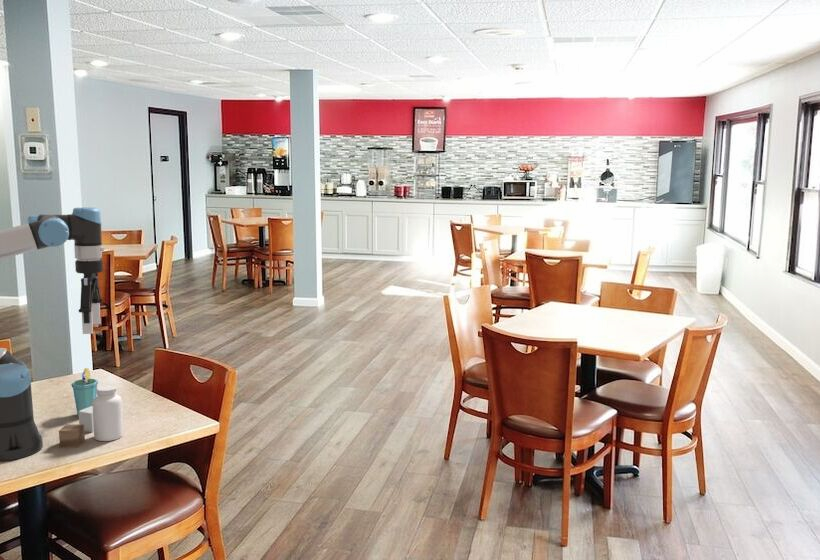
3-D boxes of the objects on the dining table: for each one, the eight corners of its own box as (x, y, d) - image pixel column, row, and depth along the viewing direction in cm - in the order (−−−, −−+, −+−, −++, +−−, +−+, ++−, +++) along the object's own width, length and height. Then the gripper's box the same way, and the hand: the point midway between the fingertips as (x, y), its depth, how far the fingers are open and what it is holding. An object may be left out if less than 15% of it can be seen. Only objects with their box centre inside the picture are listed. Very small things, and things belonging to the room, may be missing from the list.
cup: (100, 420, 228) (97, 374, 226) (73, 424, 225) (69, 376, 223) (99, 406, 241) (96, 362, 238) (73, 409, 238) (70, 365, 235)
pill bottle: (117, 442, 211) (114, 392, 208) (89, 441, 211) (86, 391, 209) (128, 432, 219) (125, 383, 216) (101, 431, 219) (98, 383, 216)
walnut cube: (78, 447, 207) (76, 430, 206) (60, 447, 207) (58, 430, 206) (84, 440, 212) (83, 424, 211) (67, 441, 212) (65, 424, 211)
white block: (92, 432, 218) (91, 413, 217) (79, 430, 220) (78, 411, 219) (105, 427, 223) (103, 408, 222) (92, 424, 225) (91, 406, 224)
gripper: (95, 264, 208) (98, 337, 211) (108, 254, 232) (111, 319, 235) (66, 264, 206) (70, 338, 210) (83, 254, 230) (86, 320, 234)
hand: (91, 328), depth 223 cm, fingers open, 13 cm apart
